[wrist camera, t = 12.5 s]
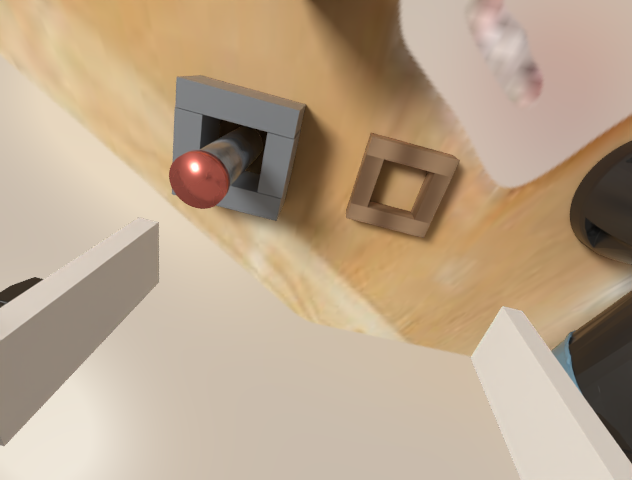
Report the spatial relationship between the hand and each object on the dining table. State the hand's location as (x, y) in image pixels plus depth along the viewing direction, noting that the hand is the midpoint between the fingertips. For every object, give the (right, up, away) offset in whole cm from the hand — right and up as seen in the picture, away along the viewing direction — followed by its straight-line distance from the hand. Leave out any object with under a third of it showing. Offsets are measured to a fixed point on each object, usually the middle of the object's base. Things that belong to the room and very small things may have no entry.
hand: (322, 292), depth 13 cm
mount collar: (+10, +9, +28) cm, 31 cm away
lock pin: (-9, +14, +27) cm, 31 cm away
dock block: (-9, +14, +27) cm, 31 cm away
